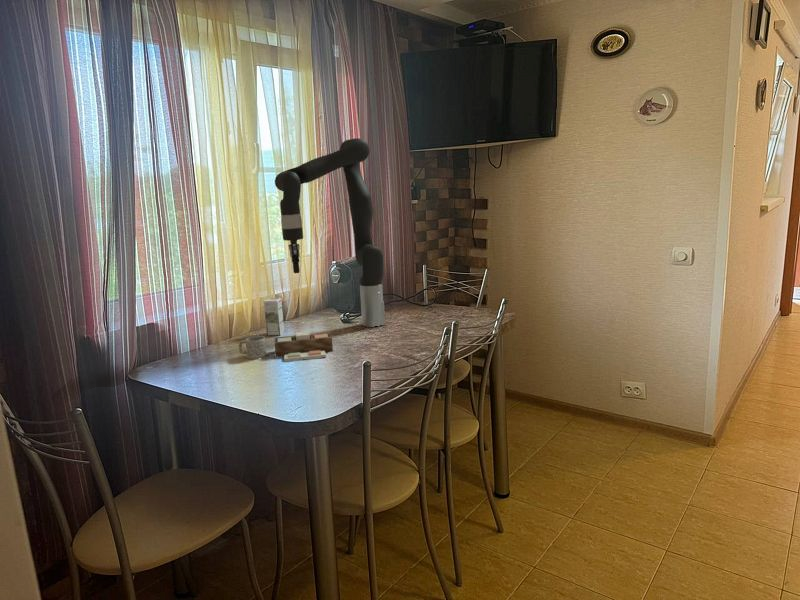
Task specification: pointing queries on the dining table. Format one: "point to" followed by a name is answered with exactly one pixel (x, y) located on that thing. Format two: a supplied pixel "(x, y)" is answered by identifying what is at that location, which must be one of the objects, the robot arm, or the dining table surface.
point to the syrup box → (273, 316)
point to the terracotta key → (321, 336)
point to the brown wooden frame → (303, 345)
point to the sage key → (284, 339)
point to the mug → (254, 347)
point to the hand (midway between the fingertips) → (296, 272)
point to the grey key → (302, 335)
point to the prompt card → (304, 355)
